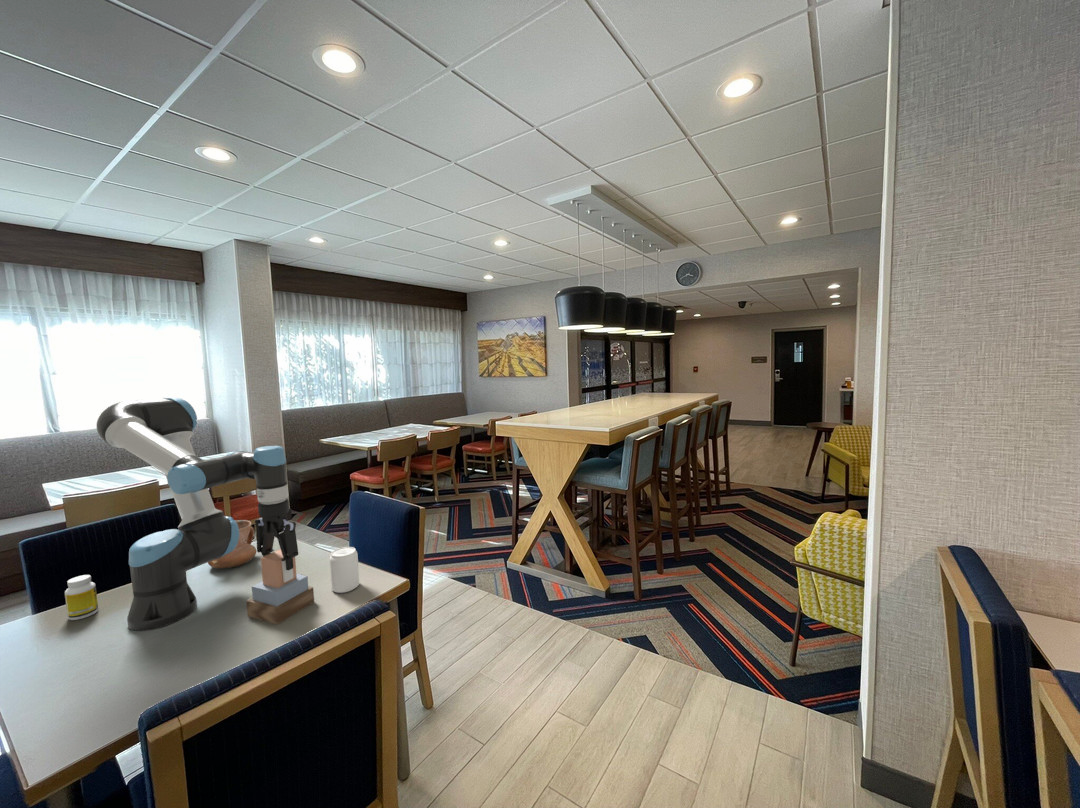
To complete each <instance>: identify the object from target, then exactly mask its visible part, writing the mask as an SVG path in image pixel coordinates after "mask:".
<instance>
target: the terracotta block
mask: <svg viewBox="0 0 1080 808" xmlns="http://www.w3.org/2000/svg"><path fill="white" fill-rule="evenodd" d="M287 555H288V554H287ZM282 559H284V558H283V555H282V552H281V548H279V549H277V550H276V551H275V550H274V551H273V552H271V553H270V554H268V555H266V556H264V557H263V556H261V557H260V563H261V575H262V581H263V585H267V586H271V587H275V588H279V587H281V586H283V585H285V584H287V583H289V582H291V581H292V580H294V579H296V578H297V576H296V574H297V566H296V565H297V564H296V563H297V562H296V556H295V557H293V577H294V578H293V579H291V580H289V581H287V582H283V573H282V561H281V560H282Z"/></svg>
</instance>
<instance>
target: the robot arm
mask: <svg viewBox="0 0 1080 808" xmlns="http://www.w3.org/2000/svg"><path fill="white" fill-rule="evenodd" d="M197 420H198V417H197V413H196V411H195V409H194V407H193V406H192V404H190V403H189V402H188V401H187V400H184V399H183V398H179V397H162V398H152V399H151V398H150V399H141V400H140V399H137V400H125V401H119V402H117V403H113V404H112V405H110V406H108V407H106V409H104V410H103V411H102V412H101V413H100V414H99V416H98V418H97V420H96V421H97V422H96V430H97V434H98V436H99V437H100V438H101V439H102V440H103V441H104V442H105V443H106V444H109V445H110V446H111V447H115V448H118V449H119V448H120V449H124V450H126V451H128V453H131V454H133V455H134V456H135V457H137V458H140V459H141V460H142V461H143V462H145V463H147V464H149V465H150V466H151V467H153V468H155V469H156V470H159V471H161V472H162V473H163V474H164V475H165V477H166V481H167V484H168V487H169V489H170V492H171V494H172V496H173V499H174V502H175V504H176V507H177V509H178V510H177V511H178V513H179V517H180V518H181V521H180V523H179V525H178V526H177V528H178V529H177V528H170V529H165V530H163V531H162V530H161V531H156V532H153V533H150V534H148V535H145V536H143V537H142V538H140V539H138V540H136V541H135V542H134V543H132V545H131V546H130V548H129V551H128V565H129V570H130V572H129V573H130V578H131V586H132V596H133V597H132V601H131V605H130V607H129V611H128V615H127V620H126V621H127V627H128V629H130V630H131V631H137V632H138V631H150V630H155V629H159V628H161V627H162V628H163V627H166V626H168V625H172V624H174V623H177V622H178V621H181V620H182V619H185V618H186V617H188V616H189V615H191V614H192V613H193V612H195V610H196V609H197V607H198V601H197V597H196V595H195V593H194V591H193V590H192V589H191V587H190V585H189V583H188V580H187V572H188V571H190V570H192V569H195V568H197V567H199V566H203V565H205V564H208V562H210V561H212V560H215V559H218V558H220V557H222V556H224V555H226V554H228V553H230V552H232V551H233V550H234V549H235V548H236V546H237V544H238V541H239V528H238V525H237V523H236V521H235V519H234V518H233V517H232V516H226V515H225V513H224V511H223V510H221V509H218V508H216V507H215V505H214V504H215V503H214V501H213V499H212V496H211V494H210V493H211V492H210V491H209V489H210V488H213V487H214V488H215V487H218V486H222V485H226V484H230V483H234V482H237V481H241V480H245V479H247V480H248V479H249V480H250V479H251V480H255V484H256V486H255V487H256V496H257V502H258V505H257V509H258V510H257V511H258V516H259V517H260V518H257V519H255V521H254V523H255V527H256V553H258V554H259V553H261V555H262V557H264V556H266V555H268V554H270V553H273V552H275V549H273V547H274V542H275V538H277V542H278V545H279V549H281V552H282V555H283V558H284V559H282V560H281V561H282V573H283V582H287V581H289V580H291V579H293V578H294V577H293V557H295V558H296V557H297V556H299V553H300V552H299V548H298V539H297V534H296V532H297V531H296V527H297V526H296V525H297V523H296V522H295V521H292V522H291V521H289V519H288V517H287V514H288V513H289V511H290V501H289V499H288V498H289V488H288V486H289V484H288V476H287V473H288V472H287V458H286V454H285V453H286V452H285V449H284V447H283V446H281V445H265V446H259V447H256V448H255V449H254V450H253V452H251V451H249V452H248V451H244V450H239V451H232V452H229V453H227V454H226V455H225V456H219V457H214V458H209V459H202V457H199V456H197V455H196V453H195V451H194V449H193V448H194V447H193V445H192V442H191V439H192V436H193V435H194V431H195V429H196V427H197V425H198V422H197ZM287 554H288V555H287Z"/></svg>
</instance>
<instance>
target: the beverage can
mask: <svg viewBox="0 0 1080 808" xmlns="http://www.w3.org/2000/svg"><path fill="white" fill-rule="evenodd" d="M358 558H359V557H358V551H357V550H356V548H355V547H354V546H344V547H343V546H342V547H339V548H336V549H334V550H333V551H331V552H330V556H329V568H330V572H329V573H330V583H331V590H332V591H333V593H334V592H335V593H339V594H340V593H341V594H342V593H343V594H344V593H348V592H351V591H353V590H354V589H356V588H358V586H359V585H360V572H359V571H360V570H359V559H358Z"/></svg>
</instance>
